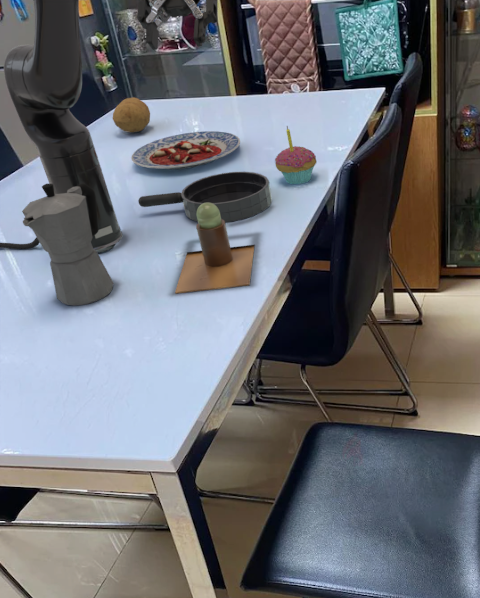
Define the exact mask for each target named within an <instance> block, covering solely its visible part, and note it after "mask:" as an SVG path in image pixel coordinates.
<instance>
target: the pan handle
mask: <svg viewBox="0 0 480 598" xmlns="http://www.w3.org/2000/svg"><path fill="white" fill-rule="evenodd" d="M181 193H182V191H177V192H169V193H160V194H159V193H158V194H151V195H142V196H140V197H139V198H138V205H140V207H142V208H148V207H149V208H150V207H157V206H165V205H176V204H183V201H182V197H181Z"/></svg>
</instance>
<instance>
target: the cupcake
mask: <svg viewBox="0 0 480 598" xmlns="http://www.w3.org/2000/svg"><path fill="white" fill-rule="evenodd" d="M286 136H287V140H288V146H289V147H288V148H285V149H282V150H281V151H280V152H279V153H278V154H277V155H276V157H275V158H274V163H275V168H276V169H277V170H278V171H279V172H280V173H281V174H282V176H283V178H284V180H285V182H286V183H287V184H289V185H301V184H305V183H308V182H309V181H310V180H311V178H312V174H313V169H314V167H315V166H316V164H317V158H316V155H315V153H314V152H313V151H312V150H310V149H308V148H306V147H304V146H297V145H293V140H292V135H291V130H290V129H289V126H288V125H286Z"/></svg>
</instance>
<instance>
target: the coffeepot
mask: <svg viewBox="0 0 480 598" xmlns="http://www.w3.org/2000/svg"><path fill="white" fill-rule="evenodd" d="M41 188H42V190H43V192H44V194H45V195H46V196H44V197H41V198H38V199H35V200H32V201H30V202H29V203H28V204H27V205H26V206H25V207H24V208H23V209H22V211H21V212H22V214H23V216H24V217H23V220H22V224H23V226H24V227H29V228H30V229H31V230H32V232H33V233H34V235H35V238H36V237H37V239H38V240H39V242H40V243H39V244H40V246H41V248H42V249H43V251H45V252H46V253H48V255H49V258H50V262H49V265H50V271H51V274H52V275H51V276H52V280H53V284H54V285H53V286H54V290H55V295H56V299H57V300H58V301H59V302H61V303H62V304H63V305H66V306H84V305H89V304H92V303H95V302H99V301H101V300H102V299H104V298H106V297H107V296H108V295H109V294H110V293H111V292H112V291H113V288H114V284H115V283H114V281H113V280H112V278H111V275H110V274H109V272H108V270H107V268H106V266H105V264H104V263H103V261H102V258H101V256H100V255H99V253H97V252H96V251H95V250H94V249H93V247H92V244H91V240H92V238H93V236H94V235H96V234H97V233H98V219H97V208H96V196H95V191H94V190H93V189H92V188H91V187H89V186H88V185H87V184H85V183H80V184H78V185H77V186H76V187H72V188H70V189H69V190H67V193H62V194H55V193H54V187H53V184H49V183H45V184H43V185H42V186H41ZM84 195H85V196H86V197H85V196H84ZM86 202H87V204H86ZM87 206H88V210H87ZM90 224H91V226H90Z"/></svg>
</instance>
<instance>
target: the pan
mask: <svg viewBox="0 0 480 598" xmlns="http://www.w3.org/2000/svg"><path fill="white" fill-rule="evenodd" d="M181 197H182V201H183V202H182V205H183V209H184V212H185V213H184V214H185V215H186V217H187V218H188V219H190V220H191V221H193V222H197V223H198V219H197V209H198V207H199V206H200V205H201V204H203V203H206V202H209V203H212V204H214V205H216V206H217V208H218V209H219V211H220V216H221V219H223V220H224V221H225V223H232V222H237V221H242V220H245V219H248V218H252V217H254V216H256V215H259V214H260V213H263V212H264V211H265V210H267V209H268V208H269V207H270V205H271V204H272V202H273V201H272V200H273V198H272V191H271V186H270V180H269V178H268V177H267V176H265V175H263V174H261V173H258V172H253V171H229V172H222V173H217V174H213V175H209V176H205V177H202V178H200V179H197V180H195V181H193V182H191V183H189V184H188V185H186V186H185V187H184V188H183V189H182V190H181Z"/></svg>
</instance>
